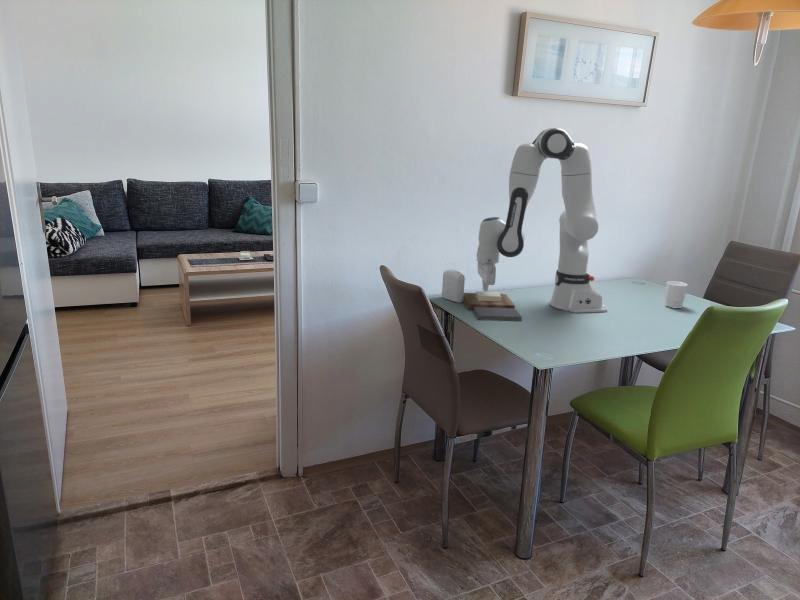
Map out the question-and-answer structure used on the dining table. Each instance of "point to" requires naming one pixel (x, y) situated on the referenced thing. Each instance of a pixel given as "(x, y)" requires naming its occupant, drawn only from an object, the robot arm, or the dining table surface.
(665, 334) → the dining table surface
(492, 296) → the cream card
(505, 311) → the charcoal mat
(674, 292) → the white cup
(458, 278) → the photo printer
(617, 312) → the dining table surface
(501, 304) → the walnut deck
